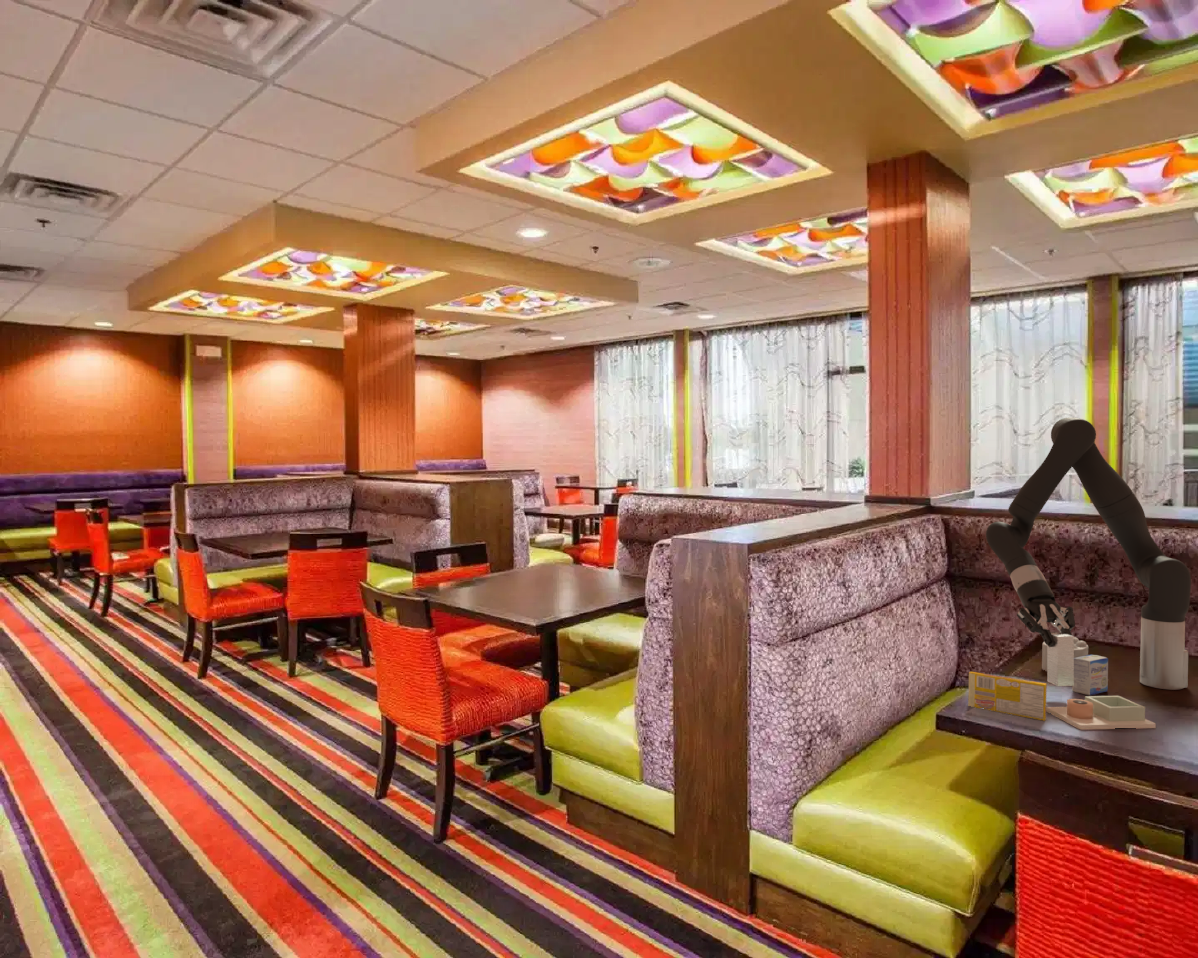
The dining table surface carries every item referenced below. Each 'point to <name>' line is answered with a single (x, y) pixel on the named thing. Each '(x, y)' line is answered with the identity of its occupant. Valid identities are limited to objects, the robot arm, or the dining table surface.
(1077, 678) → the medicine box
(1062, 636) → the plain beige rectangular box
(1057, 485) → the robot arm
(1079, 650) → the lumpy-topped squat cylinder
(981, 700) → the candy box
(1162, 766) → the dining table surface
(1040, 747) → the dining table surface
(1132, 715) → the organizer
